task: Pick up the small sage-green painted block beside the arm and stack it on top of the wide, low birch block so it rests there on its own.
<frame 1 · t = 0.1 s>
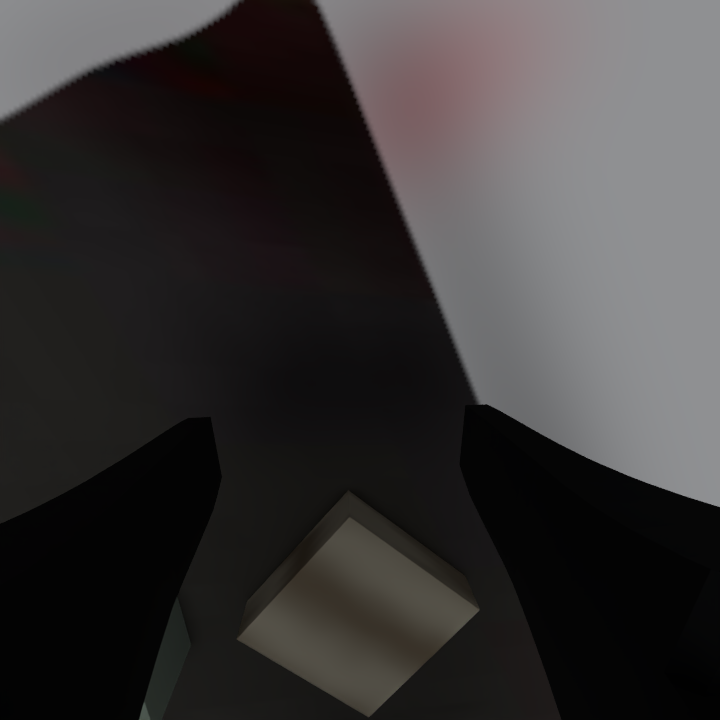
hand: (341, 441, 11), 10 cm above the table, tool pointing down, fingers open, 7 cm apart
birch block: (357, 583, 25), on the table
sage block: (147, 621, 24), on the table
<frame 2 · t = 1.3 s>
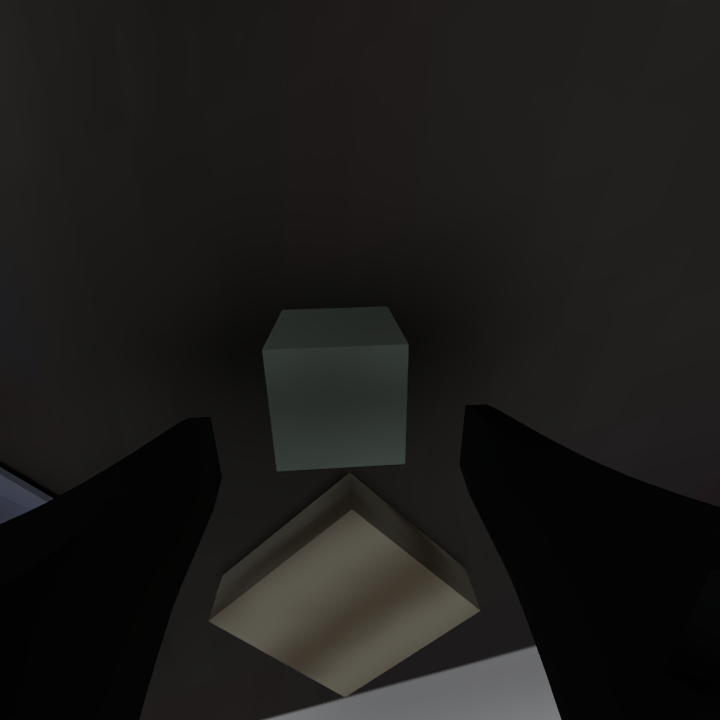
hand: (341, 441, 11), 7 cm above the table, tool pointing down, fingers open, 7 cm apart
birch block: (346, 565, 22), on the table
sage block: (337, 356, 17), on the table
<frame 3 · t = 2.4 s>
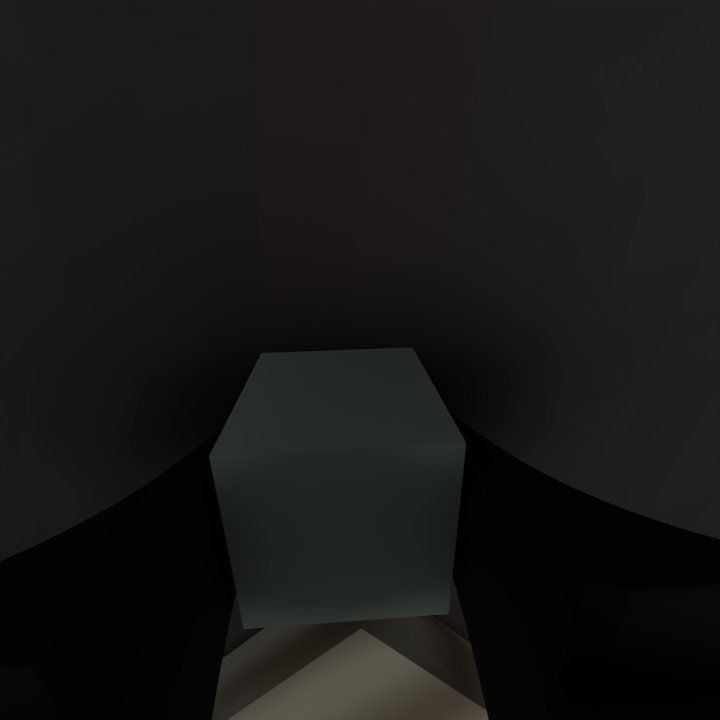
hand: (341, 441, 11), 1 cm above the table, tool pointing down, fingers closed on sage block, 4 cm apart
birch block: (351, 663, 18), on the table
sage block: (340, 416, 12), on the table, touching gripper
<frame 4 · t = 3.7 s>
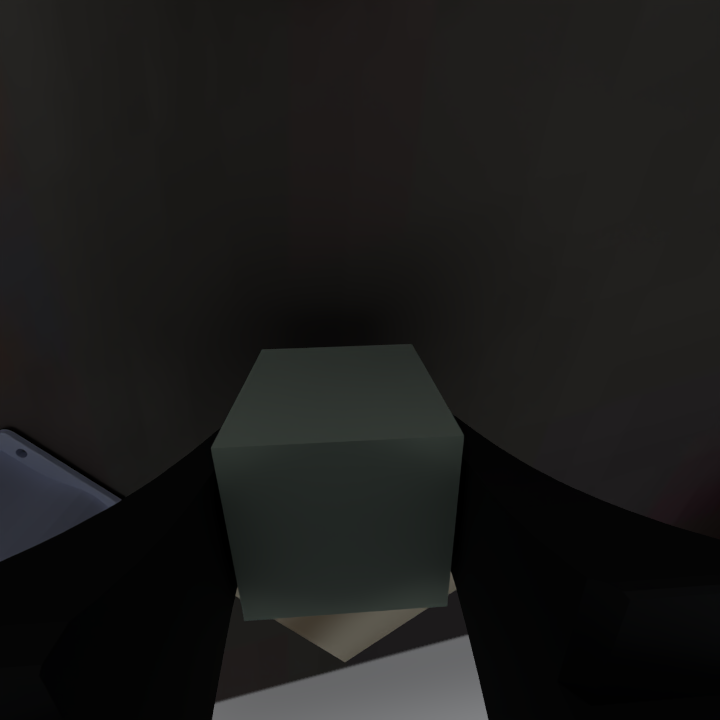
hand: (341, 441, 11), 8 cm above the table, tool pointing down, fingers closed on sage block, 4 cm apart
birch block: (346, 539, 24), on the table
sage block: (340, 412, 12), point 7 cm above the table, touching gripper
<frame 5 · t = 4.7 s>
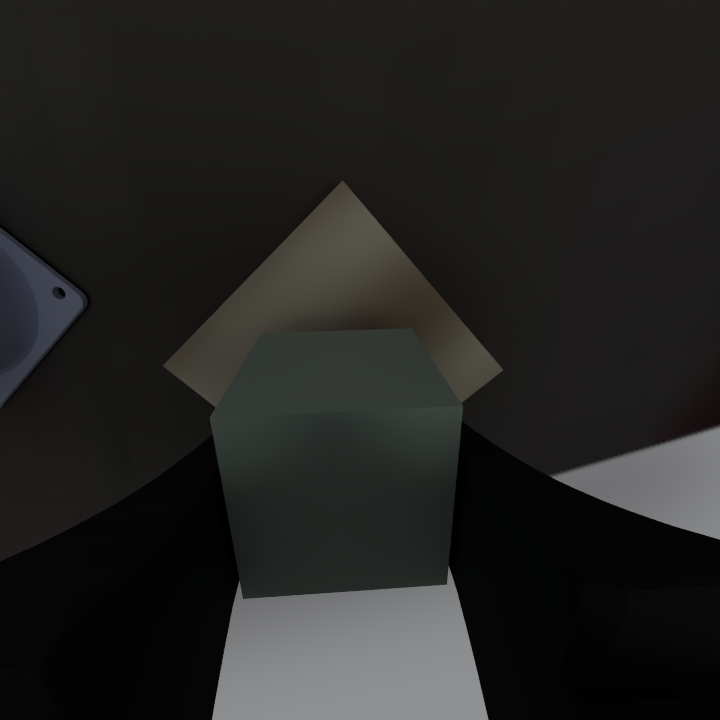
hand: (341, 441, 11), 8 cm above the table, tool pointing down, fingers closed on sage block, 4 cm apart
birch block: (338, 343, 18), on the table
sage block: (339, 397, 12), point 6 cm above the table, touching gripper
when the fingers open (6 cm above the table, at t = 5.4 s): sage block drops 2 cm, resting on birch block.
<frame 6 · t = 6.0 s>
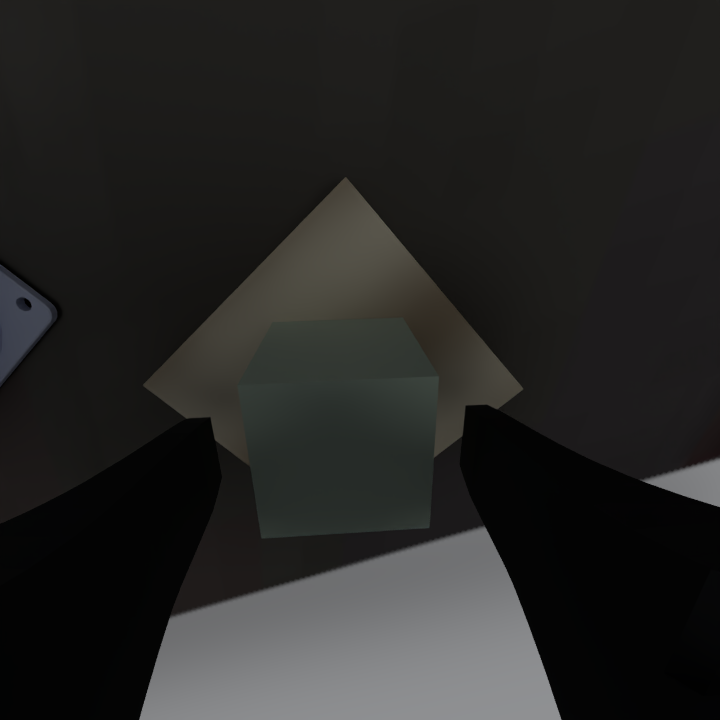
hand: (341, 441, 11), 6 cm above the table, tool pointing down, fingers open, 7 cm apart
birch block: (339, 357, 17), on the table, touching sage block
sage block: (340, 378, 14), point 2 cm above the table, touching birch block
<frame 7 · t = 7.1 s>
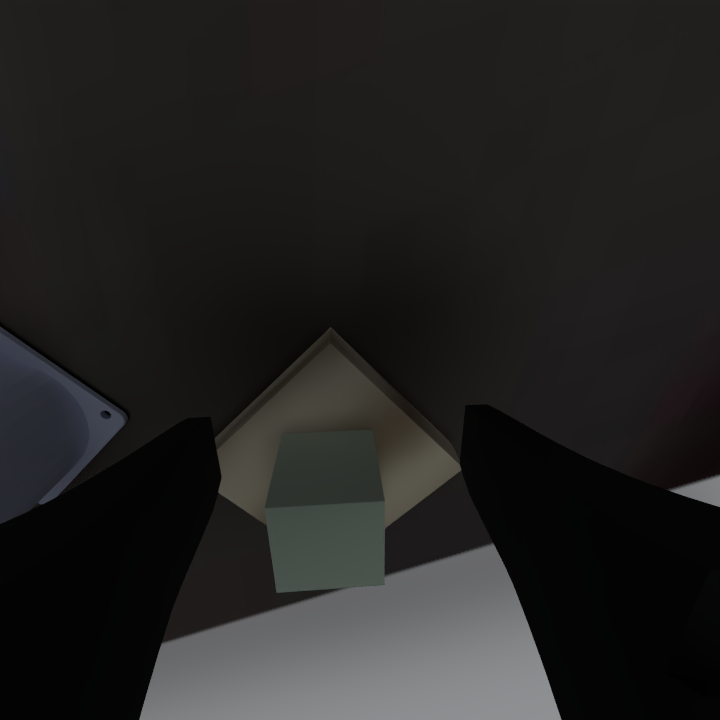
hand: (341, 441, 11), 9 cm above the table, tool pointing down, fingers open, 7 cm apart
birch block: (331, 438, 22), on the table, touching sage block
sage block: (329, 468, 20), point 2 cm above the table, touching birch block
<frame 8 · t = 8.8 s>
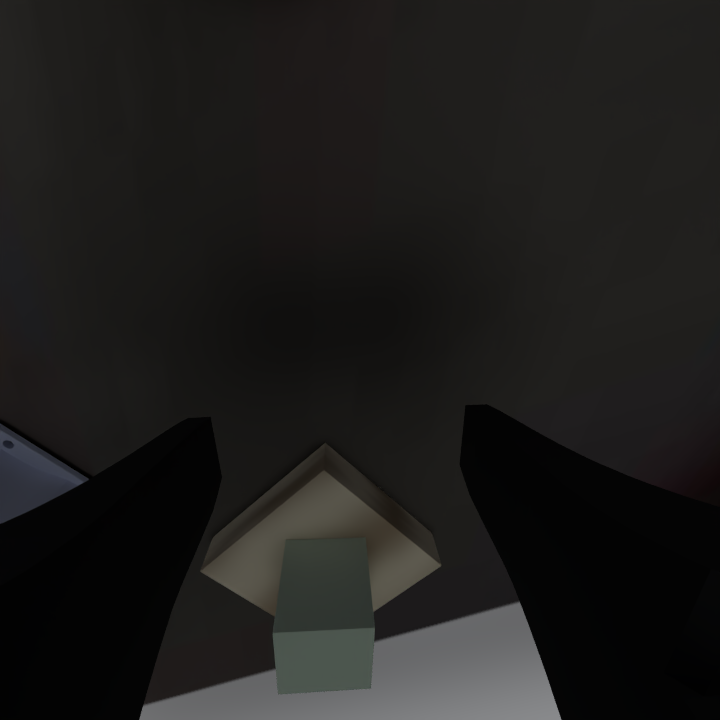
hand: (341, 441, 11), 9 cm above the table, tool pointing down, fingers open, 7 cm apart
birch block: (324, 528, 25), on the table, touching sage block
sage block: (326, 567, 22), point 2 cm above the table, touching birch block
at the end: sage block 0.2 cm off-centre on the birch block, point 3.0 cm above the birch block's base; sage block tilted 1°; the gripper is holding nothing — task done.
